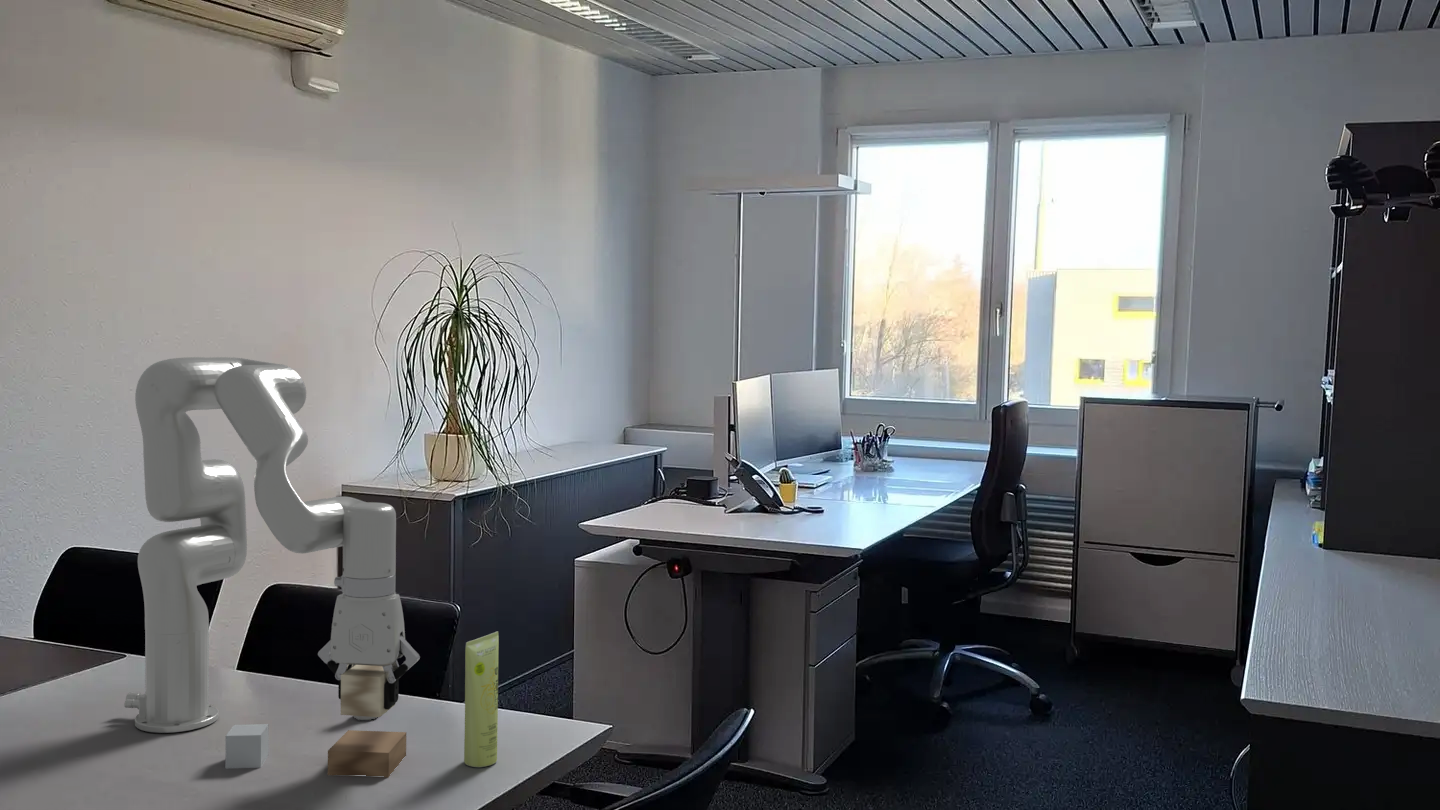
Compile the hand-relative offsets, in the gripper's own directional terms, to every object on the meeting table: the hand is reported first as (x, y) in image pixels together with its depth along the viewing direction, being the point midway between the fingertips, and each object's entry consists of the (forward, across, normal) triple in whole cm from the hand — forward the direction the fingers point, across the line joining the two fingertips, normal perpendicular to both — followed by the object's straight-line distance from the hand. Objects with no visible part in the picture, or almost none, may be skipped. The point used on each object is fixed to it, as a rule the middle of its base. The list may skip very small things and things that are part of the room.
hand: (368, 704), depth 180 cm
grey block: (+9, -18, -2) cm, 20 cm away
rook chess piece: (+9, -9, +21) cm, 25 cm away
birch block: (+1, 0, 0) cm, 1 cm away
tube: (+10, +16, +4) cm, 19 cm away
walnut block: (+10, 0, 0) cm, 10 cm away
